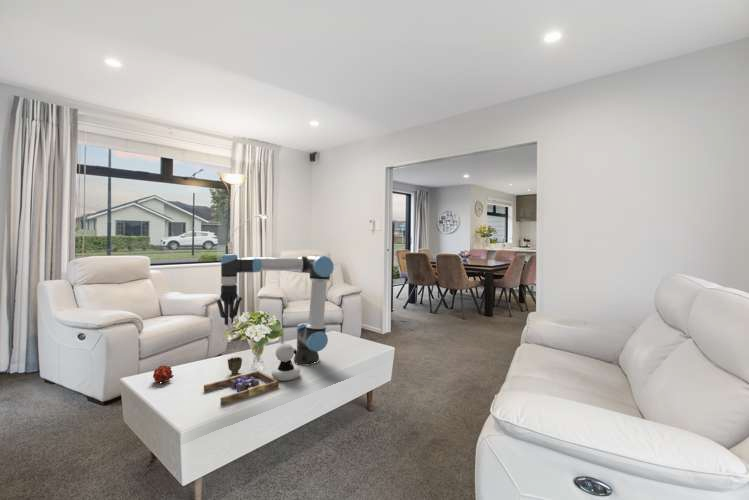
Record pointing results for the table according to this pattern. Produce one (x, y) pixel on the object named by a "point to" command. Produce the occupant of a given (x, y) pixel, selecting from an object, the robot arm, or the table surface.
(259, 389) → the wooden tray
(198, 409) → the table surface
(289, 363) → the decorative figurine
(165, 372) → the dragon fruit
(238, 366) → the cup
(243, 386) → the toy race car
